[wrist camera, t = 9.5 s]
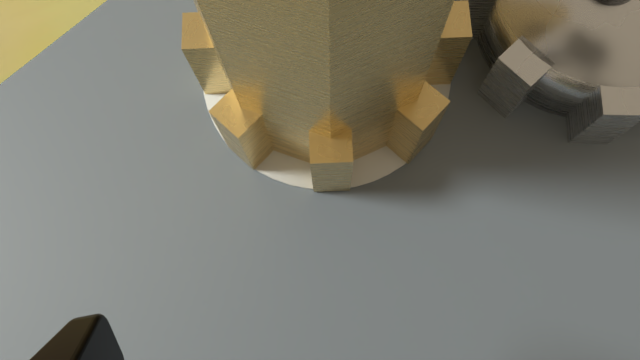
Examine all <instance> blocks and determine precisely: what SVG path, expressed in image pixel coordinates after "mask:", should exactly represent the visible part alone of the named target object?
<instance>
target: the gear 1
mask: <svg viewBox="0 0 640 360" xmlns="http://www.w3.org/2000/svg"><path fill="white" fill-rule="evenodd" d="M193 1H194V3H195V6H196V8H197V10H198V12H188V13H182V43H181V50H182V51H183V53H184V55H185V57H186V59H187V61H188V63H189V65H190V66H191V68H192V70H193V72H194V74H195V76H196V78H197V79H198V81H199V83H200V85H201V87H202V89H203V91H204V93H205V94H223V93H227V94H226V95H225V96H224V97H223V98H222V99H221V100H219V101H218V102H217V103H216V104H215V105H214V106H213V107H212V108H211V109H210V110H209V111H208V112H209V114H210V115H211V117H212V119H213V121H214V122H215V124H216V126H217V128H218V130H219V131H220V133H221V135H222V137H223V138H224V140H225V142H226V144H227V145H228V147H229V148H230V149H231V150H232V151H233V152H234V153H235V154H236V155H237V156H238V157H240V158H241V159H242V160H243V161H244V162H245V163H246V164H247V165H248V166H249V167H250V168H252V169H253V170H255V169H256V168H257V167H258V166H259V165H260V164H261V163H262V162H263V161H264V160H265V159H266V158H267V157H268V156H269V155H270V153H271V152H272V151H273V150H274V151H277V152H280V153H283V154H285V155H288V156H291V157H294V158H297V159H300V160H302V161H305V162H308V163H310V169H311V176H312V183H313V191H314V192H325V191H350V186H351V177H352V169H353V160H356V159H358V158H360V157H362V156H365V155H367V154H369V153H371V152H374V151H376V150H378V149H380V148H383V147H385V146H387V147H388V148H390V149H391V150H392V151H393V152H394V153H395V154H397V155H398V156H399V157H400V158H401V159H402V160H404V161H405V162H406V163H407V164H409V163H410V162H411V161H412V160H413V158H414V157H415V156H416V155H417V154H418V153H419V152H420V151H421V150H422V149H423V148H424V147H425V145H426V144H427V143H428V142H429V141H430V140H431V139H432V137H433V135H434V133H435V131H436V129H437V127H438V125H439V123H440V121H441V119H442V117H443V115H444V113H445V111H446V109H447V108H448V106H449V104H450V102H451V101H450V100H448V99H447V98H446V97H445V96H443V95H442V94H441V93H440V92H439V91H437V90H436V89H435V88H434V87H432V86H431V85H438V84H450V83H451V81H452V79H453V77H454V75H455V73H456V71H457V68H458V66H459V64H460V62H461V60H462V58H463V56H464V54H465V52H466V49H467V47H468V45H469V43H470V41H471V39H472V28H471V19H470V11H469V2H468V0H464V1H454V0H193Z"/></svg>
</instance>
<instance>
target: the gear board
mask: <svg viewBox="0 0 640 360" xmlns="http://www.w3.org/2000/svg"><path fill="white" fill-rule="evenodd" d="M188 12H198V10H197V8H196V6H195V3H194V1H193V0H107V1H106V2H104V3H103V4H102V5H101V6H99V7H98V8H97V9H96V10H94V11H93V12H92V13H90V14H89V15H88V16H87V17H85V18H84V19H83V20H81V21H80V22H79V23H78V24H76V25H75V26H74V27H73V28H71V29H70V30H69V31H67V32H66V33H65V34H64V35H62V36H61V37H60V38H59V39H57V40H56V41H55V42H53V43H52V44H51V45H50V46H48V47H47V48H46V49H44V50H43V51H42V52H41V53H39V54H38V55H37V56H36V57H34V58H33V59H32V60H30V61H29V62H28V63H27V64H25V65H24V66H23V67H22V68H20V69H19V70H18V71H16V72H15V73H14V74H13V75H11V76H10V77H9V78H7V79H6V80H5V81H4V82H2V83H1V84H0V360H29V359H31V358H32V357H33V356H34V355H35V354H36V353H37V352H38V351H39V350H40V349H41V348H42V347H43V346H44V345H45V344H46V343H47V342H48V341H49V340H50V339H51V338H52V337H53V336H55V335H56V334H57V333H58V332H59V331H60V330H61V329H62V328H63V327H64V326H65V325H66V324H67V323H68V322H69V321H70V320H72V319H74V318H77V317H82V316H87V315H92V314H97V313H99V314H102V315H104V316H105V317H106V318H107V320H108V321H109V324H110V326H111V328H112V330H113V333H114V335H115V337H116V340H117V342H118V344H119V346H120V349H121V351H122V353H123V356H124V360H640V122H639V123H637V124H636V125H634V126H633V127H631V128H630V129H628V130H627V131H625V132H624V133H623V134H621V135H620V136H618V137H617V138H615V139H614V140H612V141H611V142H609V143H608V144H582V143H568V139H567V128H566V117H563V116H558V115H554V114H551V113H548V112H545V111H543V110H540V109H538V108H536V107H534V106H532V105H530V104H528V103H527V102H525V101H523V102H522V103H521V104H520V105H519V106H518V107H517V108H516V109H515V110H514V111H513V112H512V113H510V114H509V115H508V116H507V117H506V118H504V117H503V116H502V115H501V114H500V113H499V112H498V111H496V110H495V109H494V108H493V107H492V106H491V105H490V104H489V103H488V102H486V101H485V100H484V99H483V98H482V97H481V96H480V95H479V94H478V93H477V92H478V90H479V89H480V87H481V85H482V84H483V82H484V80H485V79H486V77H487V75H488V74H489V72H490V68H489V66H488V64H487V63H486V61H485V59H484V57H483V55H482V53H481V50H480V48H479V45H478V41H477V40H471V41H470V43H469V45H468V47H467V49H466V52H465V54H464V56H463V58H462V60H461V62H460V64H459V66H458V68H457V71H456V73H455V75H454V77H453V79H452V81H451V83H450V84H438V85H431V86H432V87H434V88H435V89H436V90H437V91H439V92H440V93H441V94H442V95H443V96H445V97H446V98H447V99H448V100H450V101H451V102H450V104H449V106H448V108H447V109H446V111H445V113H444V115H443V117H442V119H441V121H440V123H439V125H438V127H437V129H436V131H435V133H434V135H433V137H432V139H431V140H430V141H429V142H428V143H427V144H426V145H425V147H424V148H423V149H422V150H421V151H420V152H419V153H418V154H417V155H416V156H415V157H414V158H413V160H412V161H411V162H410V163H409V164H407V163H406V162H405V161H404V160H402V159H401V158H400V157H399V156H398V155H397V154H395V153H394V152H393V151H392V150H391V149H390V148H388V147H387V146H385V147H383V148H380V149H378V150H376V151H374V152H371V153H369V154H367V155H365V156H362V157H360V158H358V159H356V160H353V169H352V177H351V186H350V191H325V192H314V191H313V183H312V176H311V169H310V163H308V162H305V161H302V160H300V159H297V158H294V157H291V156H288V155H285V154H283V153H280V152H277V151H274V150H273V151H272V152H271V153H270V155H269V156H268V157H267V158H266V159H265V160H264V161H263V162H262V163H261V164H260V165H259V166H258V167H257V168H256V169H255V170H253V169H252V168H250V167H249V166H248V165H247V164H246V163H245V162H244V161H243V160H242V159H241V158H240V157H238V156H237V155H236V154H235V153H234V152H233V151H232V150H231V149H230V148H229V147H228V145H227V144H226V142H225V140H224V138H223V137H222V135H221V133H220V131H219V130H218V128H217V126H216V124H215V122H214V121H213V119H212V117H211V115H210V114H209V112H208V111H209V110H210V109H211V108H212V107H213V106H214V105H215V104H216V103H217V102H218V101H219V100H221V99H222V98H223V97H224V96H225V95H226V94H227V93H223V94H205V93H204V91H203V89H202V87H201V85H200V83H199V81H198V79H197V78H196V76H195V74H194V72H193V70H192V68H191V66H190V65H189V63H188V61H187V59H186V57H185V55H184V53H183V51H182V50H181V43H182V13H188Z"/></svg>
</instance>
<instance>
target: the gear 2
mask: <svg viewBox="0 0 640 360" xmlns="http://www.w3.org/2000/svg"><path fill="white" fill-rule="evenodd" d="M454 1H464V0H454ZM468 2H469V11H470V19H471V28H472V39H471V40H477V41H478V45H479V48H480V50H481V53H482V55H483V57H484V59H485V61H486V63H487V64H488V66H489V68H490V72H489V74H488V75H487V77H486V79H485V80H484V82H483V84H482V85H481V87H480V89H479V90H478V92H477V93H478V94H479V95H480V96H481V97H482V98H483V99H484V100H485V101H486V102H488V103H489V104H490V105H491V106H492V107H493V108H494V109H495V110H496V111H498V112H499V113H500V114H501V115H502V116H503V117H504V118H506V117H507V116H508V115H509V114H510V113H512V112H513V111H514V110H515V109H516V108H517V107H518V106H519V105H520V104H521V103H522V102H523V101H525V102H527V103H528V104H530V105H532V106H534V107H536V108H538V109H540V110H543V111H545V112H548V113H551V114H554V115H558V116H563V117H566V128H567V139H568V143H582V144H608V143H609V142H611V141H612V140H614V139H615V138H617V137H618V136H620V135H621V134H623V133H624V132H625V131H627V130H628V129H630V128H631V127H633V126H634V125H636V124H637V123H639V122H640V0H468Z"/></svg>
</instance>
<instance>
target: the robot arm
mask: <svg viewBox="0 0 640 360" xmlns="http://www.w3.org/2000/svg"><path fill="white" fill-rule="evenodd" d="M29 360H124V356H123V353H122V351H121V349H120V346H119V344H118V342H117V340H116V337H115V335H114V333H113V330H112V328H111V326H110V324H109V321H108V320H107V318H106V317H105V316H104V315H102V314H99V313H97V314H92V315H87V316H82V317H77V318H74V319H72V320H70V321H69V322H68V323H67V324H66V325H65V326H64V327H63V328H62V329H61V330H60V331H59V332H58V333H57V334H56V335H55V336H53V337H52V338H51V339H50V340H49V341H48V342H47V343H46V344H45V345H44V346H43V347H42V348H41V349H40V350H39V351H38V352H37V353H36V354H35V355H34V356H33V357H32V358H31V359H29Z"/></svg>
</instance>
